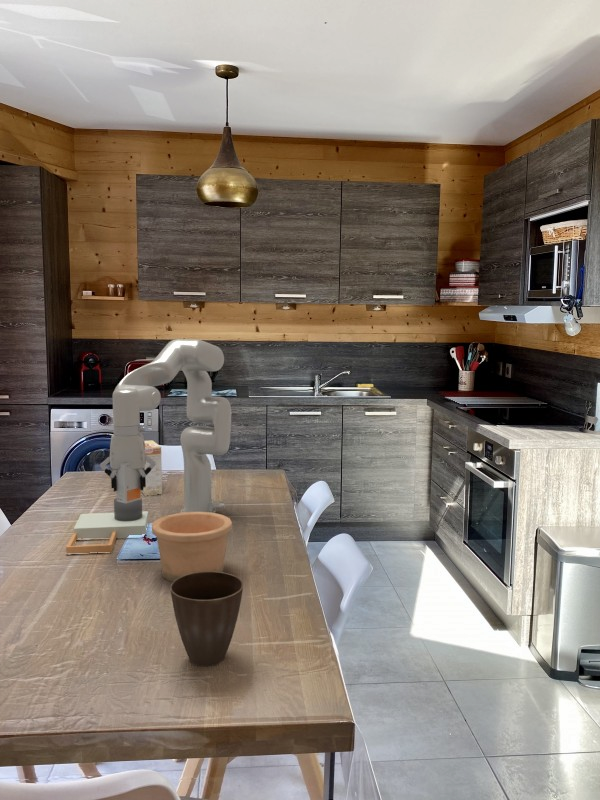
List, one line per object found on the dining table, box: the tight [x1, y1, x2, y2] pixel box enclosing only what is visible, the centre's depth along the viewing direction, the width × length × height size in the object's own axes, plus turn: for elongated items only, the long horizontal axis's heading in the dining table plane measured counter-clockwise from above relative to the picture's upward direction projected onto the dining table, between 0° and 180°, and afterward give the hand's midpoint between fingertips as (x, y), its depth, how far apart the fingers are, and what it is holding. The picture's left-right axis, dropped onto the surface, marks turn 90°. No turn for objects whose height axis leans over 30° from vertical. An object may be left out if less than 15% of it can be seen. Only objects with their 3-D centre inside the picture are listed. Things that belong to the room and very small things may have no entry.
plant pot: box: [169, 571, 244, 667], centre depth 143 cm, size 15×15×16 cm
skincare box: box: [116, 463, 142, 503], centre depth 203 cm, size 6×4×12 cm
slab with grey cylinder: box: [65, 497, 149, 554], centre depth 219 cm, size 22×29×10 cm
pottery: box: [151, 512, 233, 583], centre depth 190 cm, size 22×22×14 cm
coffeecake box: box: [141, 439, 163, 497], centre depth 275 cm, size 15×7×20 cm, turn 25°
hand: (128, 489), depth 203 cm, fingers closed on skincare box, 7 cm apart
